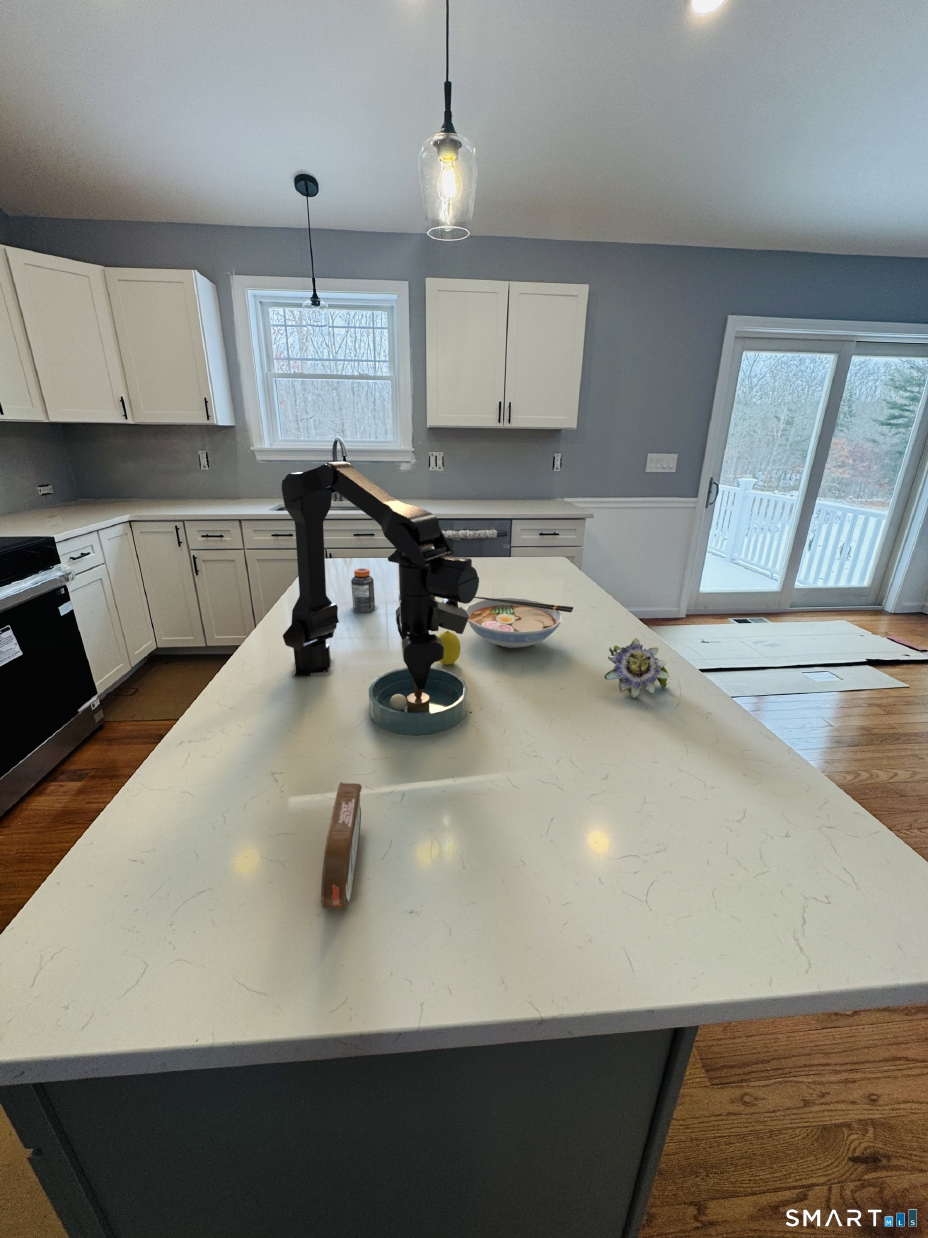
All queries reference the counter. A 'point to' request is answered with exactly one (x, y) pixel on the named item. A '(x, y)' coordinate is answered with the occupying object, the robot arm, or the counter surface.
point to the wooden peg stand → (418, 701)
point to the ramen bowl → (514, 620)
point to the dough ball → (398, 702)
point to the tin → (341, 847)
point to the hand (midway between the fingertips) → (418, 676)
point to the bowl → (440, 687)
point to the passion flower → (637, 668)
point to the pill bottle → (363, 590)
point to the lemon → (450, 647)
